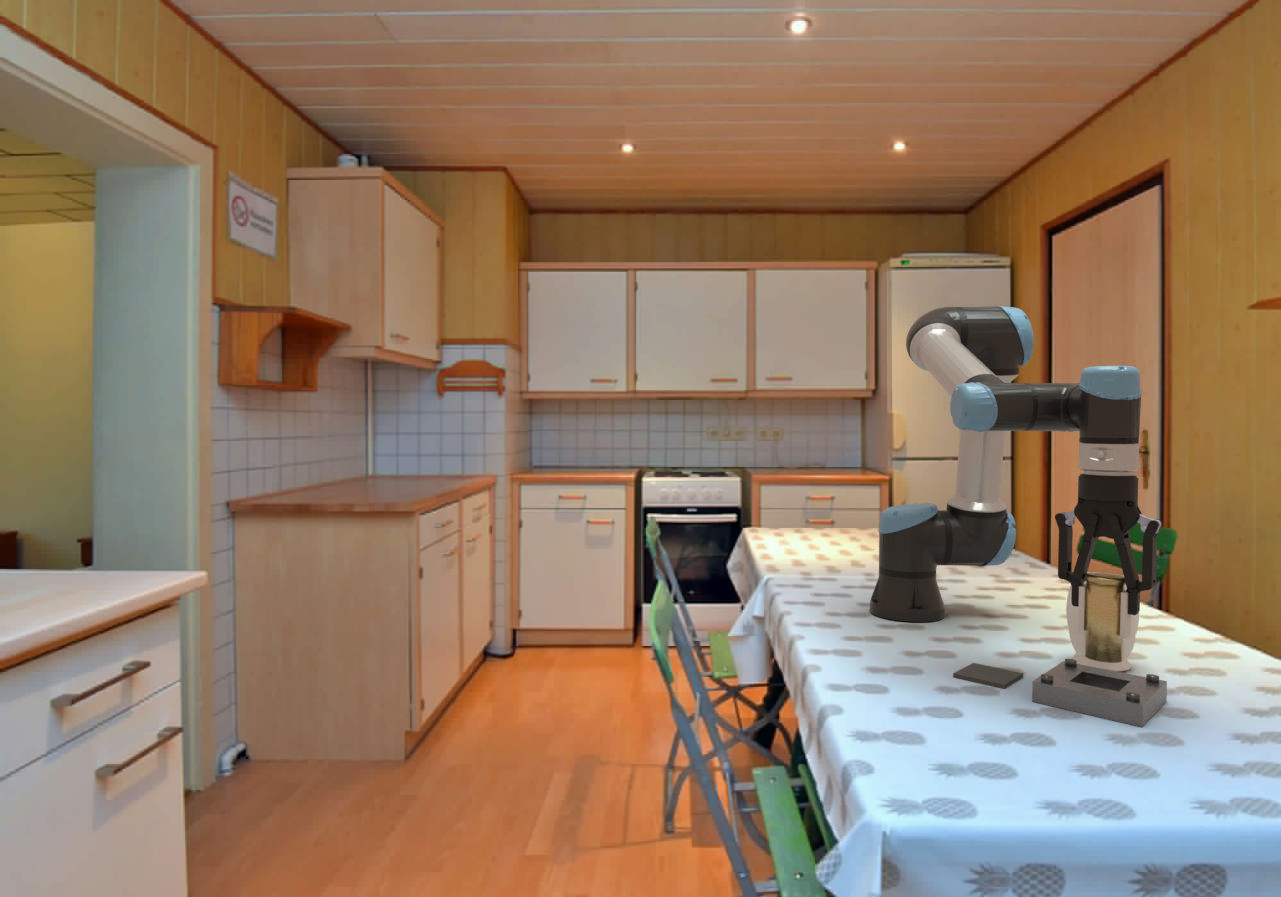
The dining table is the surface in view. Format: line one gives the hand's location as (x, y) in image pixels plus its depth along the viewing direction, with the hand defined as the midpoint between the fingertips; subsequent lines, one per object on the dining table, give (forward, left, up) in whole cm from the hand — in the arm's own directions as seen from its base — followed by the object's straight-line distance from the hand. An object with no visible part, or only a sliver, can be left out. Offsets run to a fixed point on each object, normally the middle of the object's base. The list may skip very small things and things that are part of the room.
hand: (1104, 632), depth 117 cm
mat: (-16, 0, -10) cm, 19 cm away
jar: (-5, +20, -11) cm, 23 cm away
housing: (0, 0, -10) cm, 10 cm away
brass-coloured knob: (0, 0, -4) cm, 4 cm away
